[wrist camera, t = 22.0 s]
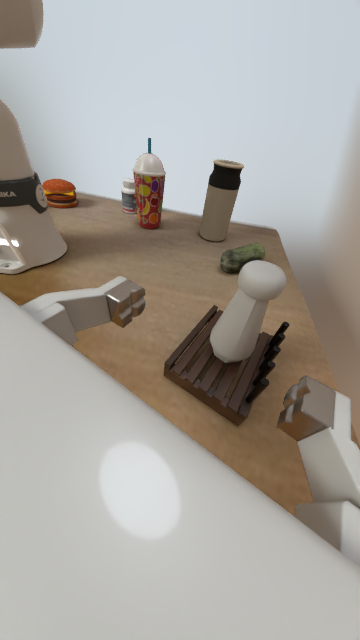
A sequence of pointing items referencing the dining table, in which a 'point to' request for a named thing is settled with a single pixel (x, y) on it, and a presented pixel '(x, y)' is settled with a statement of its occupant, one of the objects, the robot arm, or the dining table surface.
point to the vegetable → (241, 257)
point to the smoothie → (149, 188)
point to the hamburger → (60, 193)
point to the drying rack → (217, 397)
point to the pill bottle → (129, 196)
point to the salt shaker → (246, 311)
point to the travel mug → (220, 199)
